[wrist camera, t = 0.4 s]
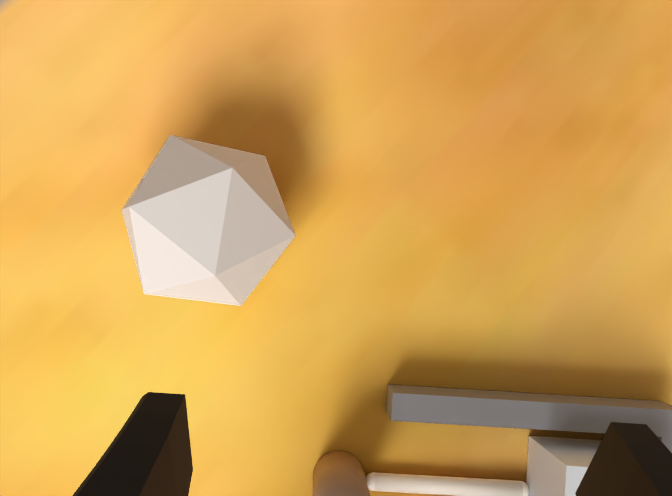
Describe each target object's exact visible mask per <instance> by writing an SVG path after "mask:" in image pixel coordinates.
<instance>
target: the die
mask: <svg viewBox="0 0 672 496" xmlns="http://www.w3.org/2000/svg"><path fill="white" fill-rule="evenodd" d="M122 213H123V217H124V220H125V224H126V228H127V232H128V235H129V239H130V243H131V247H132V251H133V254H134V258H135V262H136V266H137V269H138V273H139V277H140V281H141V285H142V288H143V292H144V294H148V295H157V296H165V297H173V298H181V299H189V300H197V301H206V302H214V303H222V304H230V305H238V306H241V305H242V304H243V303H244V302H245V300H246V299H247V298H248V296H249V295H250V294H251V293H252V291H253V290H254V289H255V287H256V286H257V285H258V284H259V282H260V281H261V280H262V278H263V277H264V276H265V275H266V273H267V272H268V271H269V269H270V268H271V267H272V266H273V264H274V263H275V262H276V260H277V259H278V258H279V256H280V255H281V254H282V253H283V251H284V250H285V249H286V247H287V246H288V245H289V244H290V242H291V241H292V240H293V238H294V237H295V236H296V235H295V232H294V230H293V227H292V225H291V222H290V219H289V217H288V214H287V212H286V209H285V206H284V204H283V201H282V198H281V196H280V193H279V191H278V188H277V185H276V183H275V180H274V177H273V175H272V172H271V170H270V167H269V164H268V162H267V159H266V156H264V155H260V154H255V153H251V152H246V151H242V150H237V149H233V148H228V147H224V146H219V145H215V144H210V143H206V142H201V141H197V140H192V139H188V138H183V137H179V136H174V135H170V136H169V137H168V139H167V141H166V142H165V144H164V145H163V147H162V148H161V150H160V151H159V153H158V154H157V156H156V158H155V159H154V161H153V162H152V164H151V165H150V167H149V168H148V170H147V172H146V173H145V175H144V176H143V178H142V179H141V181H140V182H139V184H138V185H137V187H136V189H135V190H134V192H133V193H132V195H131V196H130V198H129V199H128V201H127V202H126V204H125V206H124V207H123V209H122Z"/></svg>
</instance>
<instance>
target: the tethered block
mask: <svg viewBox="0 0 672 496" xmlns="http://www.w3.org/2000/svg"><path fill="white" fill-rule="evenodd" d="M601 441H602V440H592V439H575V438H558V437H541V436H529V439H528V456H527V474H526V483H525V482H523V481H517V480H499V479H481V478H464V477H446V476H429V475H411V474H393V473H376V472H372V473H370V474H368V475H367V476H366V478H365V474H364V470H363V467H362V464H361V463H360V461H359V460H358V459H357V458H356V457H355V456H354V455H352V454H351V453H348V452H345V451H333V452H330V453H327V454H326V455H324V456H323V457H321V458H320V459H319V461H318V462H317V464H316V465H315V468H314V471H313V496H370V495H369V490H371V491H383V492H401V493H419V494H437V495H455V496H576V494H575V493H576V491H577V489H578V487H579V485H580V483H581V481H582V479H583V477H584V475H585V473H586V471H587V469H588V467H589V465H590V463H591V461H592V459H593V457H594V455H595V453H596V451H597V449H598V447H599V445H600V443H601ZM368 489H369V490H368Z"/></svg>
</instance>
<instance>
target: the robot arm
mask: <svg viewBox="0 0 672 496" xmlns="http://www.w3.org/2000/svg"><path fill="white" fill-rule="evenodd" d="M192 471H193V467H192V457H191V447H190V438H189V428H188V419H187V409H186V399H185V395H184V394H168V393H152V392H148V393H147V394H145V395H144V396H142V398H141V400H140V401H139V403H138V404H137V406H136V408H135V409H134V411H133V412H132V414H131V415H130V417H129V418H128V420H127V421H126V423H125V424H124V426H123V427H122V429H121V430H120V432H119V433H118V435H117V436H116V438H115V439H114V440H113V442H112V443H111V445H110V446H109V447H108V449H107V450H106V452H105V453H104V454H103V456H102V457H101V459H100V460H99V461H98V463H97V464H96V466H95V467H94V468H93V470H92V471H91V472H90V473H89V475H88V476H87V477H86V479H85V480H84V481H83V483H82V484H81V485H80V487H79V488H78V489H77V490H76V492H75V493H74V494H73V496H188V493H189V488H190V482H191V477H192ZM575 494H576V496H672V453H671V452H670V451H669V449H668V448H667V447H666V446H665V445H664V444H663V443H662V441H661V440H660V439H659V438H658V437H657V436H656V435H655V433H654V432H653V431H652V430H651V429H650V428H649V427H648V426H647V424H635V423H620V422H611V423H610V425H609V427H608V429H607V431H606V433H605V435H604V437H603V439H602V441H601V443H600V445H599V447H598V449H597V451H596V453H595V455H594V457H593V459H592V461H591V463H590V465H589V467H588V469H587V471H586V473H585V475H584V477H583V479H582V481H581V483H580V485H579V487H578V489H577V491H576V493H575Z"/></svg>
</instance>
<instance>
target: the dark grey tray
mask: <svg viewBox="0 0 672 496" xmlns="http://www.w3.org/2000/svg"><path fill="white" fill-rule="evenodd" d="M386 411H387V413H388V415H389V417H390V419H391V421H405V422H422V423H438V424H455V425H472V426H489V427H506V428H522V429H539V430H556V431H573V432H589V433H606V431H607V429H608V427H609V425H610V423H611V422H620V423H635V424H647V426H648V427H649V428H650V429H651V430H652V431H653V432H654V433H655V435H656V436H657V437H658V438H659V439H660V440H661V441H662V443H663V444H664V445H665V446H666V447H667V448H668V449H669V451H670V452H671V453H672V406H671V405H668V404H666V403H663V402H661V401H652V400H636V399H620V398H603V397H587V396H571V395H554V394H538V393H522V392H506V391H489V390H473V389H457V388H440V387H424V386H408V385H392V384H388V385H387V401H386Z"/></svg>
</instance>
